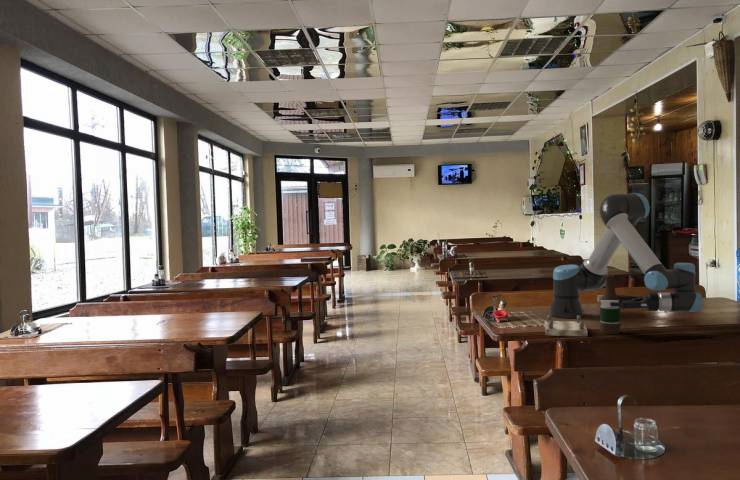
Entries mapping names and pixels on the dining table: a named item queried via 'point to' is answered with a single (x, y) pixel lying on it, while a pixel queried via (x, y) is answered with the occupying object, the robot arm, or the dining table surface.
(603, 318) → the beer bottle
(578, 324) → the condiment stand
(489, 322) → the dining table surface
